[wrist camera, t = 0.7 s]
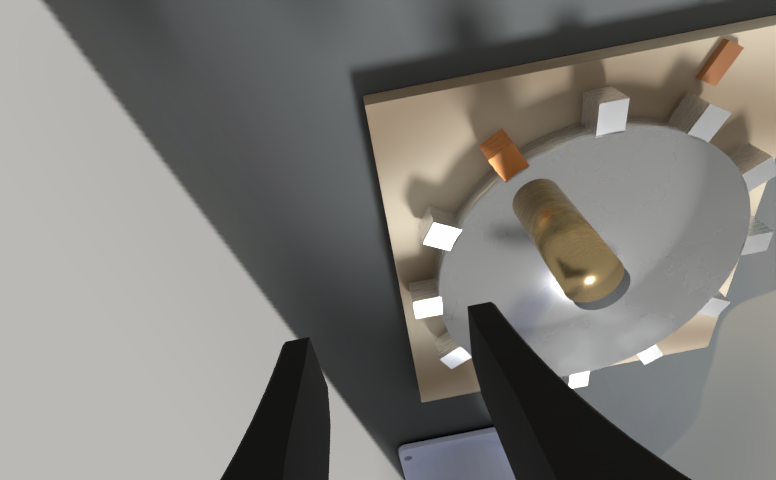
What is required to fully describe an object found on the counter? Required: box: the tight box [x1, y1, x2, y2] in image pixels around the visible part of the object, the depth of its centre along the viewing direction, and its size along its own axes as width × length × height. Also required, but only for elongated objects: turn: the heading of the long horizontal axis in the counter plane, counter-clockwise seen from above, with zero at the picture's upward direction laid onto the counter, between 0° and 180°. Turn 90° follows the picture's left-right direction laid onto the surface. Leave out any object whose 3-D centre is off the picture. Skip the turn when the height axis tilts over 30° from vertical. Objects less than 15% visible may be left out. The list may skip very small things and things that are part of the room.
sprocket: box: [408, 86, 776, 388], centre depth 19 cm, size 15×15×6 cm
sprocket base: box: [363, 15, 776, 403], centre depth 22 cm, size 17×16×1 cm
